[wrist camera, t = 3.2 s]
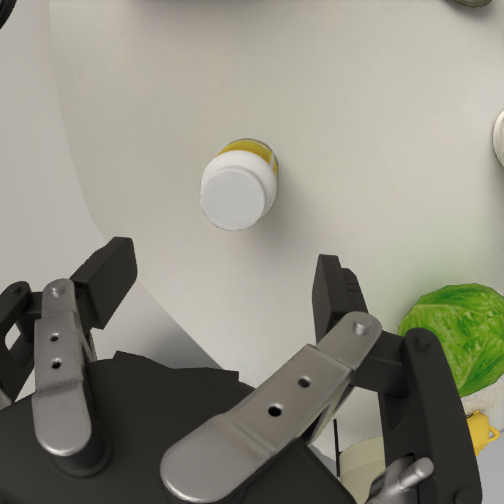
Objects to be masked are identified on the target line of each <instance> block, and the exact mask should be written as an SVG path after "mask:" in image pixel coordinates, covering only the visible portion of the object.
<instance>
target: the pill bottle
mask: <svg viewBox="0 0 504 504" xmlns="http://www.w3.org/2000/svg"><path fill="white" fill-rule="evenodd" d="M277 180H278V164H277V160H276V157H275V155H274V153H273V151H272V150H271V149H270V148H269V147H268V146H267V145H266V144H265V143H263V142H261V141H259V140H256V139H251V138H244V139H239V140H236V141H234V142H232V143H230V144H229V145H227V146H226V147H225V148H224V149H223V150H222V151H221V152H220V153H219V154H218V155H217V156H216V157H215V158H214V159H213V160H212V161H211V162H210V163H209V164H208V165H207V167H206V168H205V170H204V172H203V175H202V178H201V184H200V189H201V194H200V203H201V208H202V210H203V213H204V214H205V216H206V217H207V219H208V220H209V221H210V222H211V223H213V224H214V225H215V226H217V227H219V228H221V229H224V230H228V231H240V230H245V229H247V228H249V227H251V226H253V225H254V224H255V223H256V222H257V221H258V220H259V219H260V218H261V217H263V216H264V215H265V214H266V213H267V212H268V211H269V210H270V208H271V207H272V205H273V203H274V201H275V198H276V194H277Z"/></svg>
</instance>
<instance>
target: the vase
mask: <svg viewBox="0 0 504 504" xmlns="http://www.w3.org/2000/svg"><path fill="white" fill-rule="evenodd" d="M493 145H494V150H495V153H496V156H497V158H498V160H499V161H500V163H501V164H502V165H503V166H504V110H503V111H502V112H501V113H500V114H499V116H498V117H497V119H496V121H495V125H494V130H493Z"/></svg>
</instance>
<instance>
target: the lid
mask: <svg viewBox="0 0 504 504" xmlns="http://www.w3.org/2000/svg"><path fill="white" fill-rule="evenodd" d="M455 1H457V2H458V3H460V4H463V5H465V6H470V7H482V6H486V5H488V4H489V3H490V2H491V1H492V0H455Z"/></svg>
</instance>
